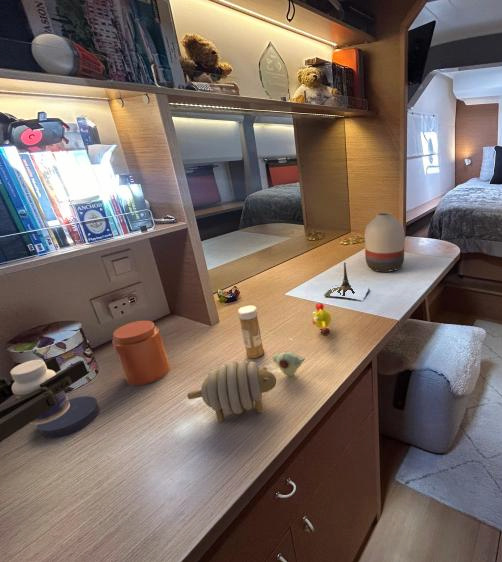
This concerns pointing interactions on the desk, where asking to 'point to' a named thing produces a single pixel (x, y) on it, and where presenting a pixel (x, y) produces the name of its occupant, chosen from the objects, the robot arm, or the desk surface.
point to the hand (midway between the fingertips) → (69, 365)
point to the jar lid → (72, 418)
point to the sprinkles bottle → (251, 331)
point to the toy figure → (322, 319)
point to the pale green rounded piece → (288, 362)
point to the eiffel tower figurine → (344, 286)
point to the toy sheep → (235, 388)
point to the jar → (141, 352)
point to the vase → (384, 243)
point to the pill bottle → (37, 387)
